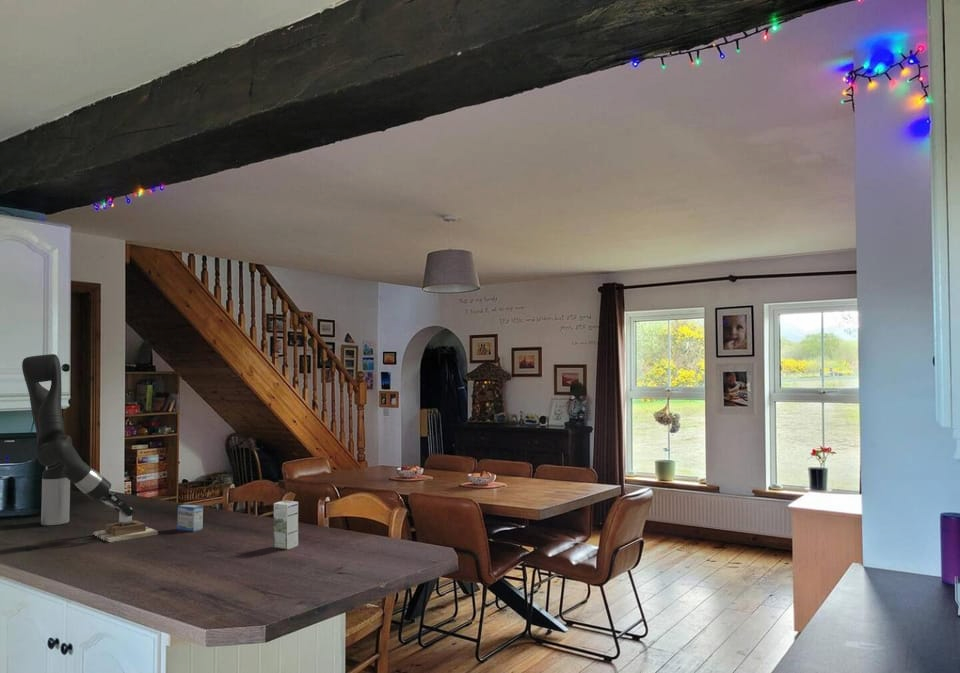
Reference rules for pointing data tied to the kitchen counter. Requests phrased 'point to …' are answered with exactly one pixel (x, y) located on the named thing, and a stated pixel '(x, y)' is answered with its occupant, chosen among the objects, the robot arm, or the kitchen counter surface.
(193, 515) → the medicine box
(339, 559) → the kitchen counter surface
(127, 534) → the wooden socket base
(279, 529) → the syrup box
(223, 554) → the kitchen counter surface
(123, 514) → the grey cylinder
